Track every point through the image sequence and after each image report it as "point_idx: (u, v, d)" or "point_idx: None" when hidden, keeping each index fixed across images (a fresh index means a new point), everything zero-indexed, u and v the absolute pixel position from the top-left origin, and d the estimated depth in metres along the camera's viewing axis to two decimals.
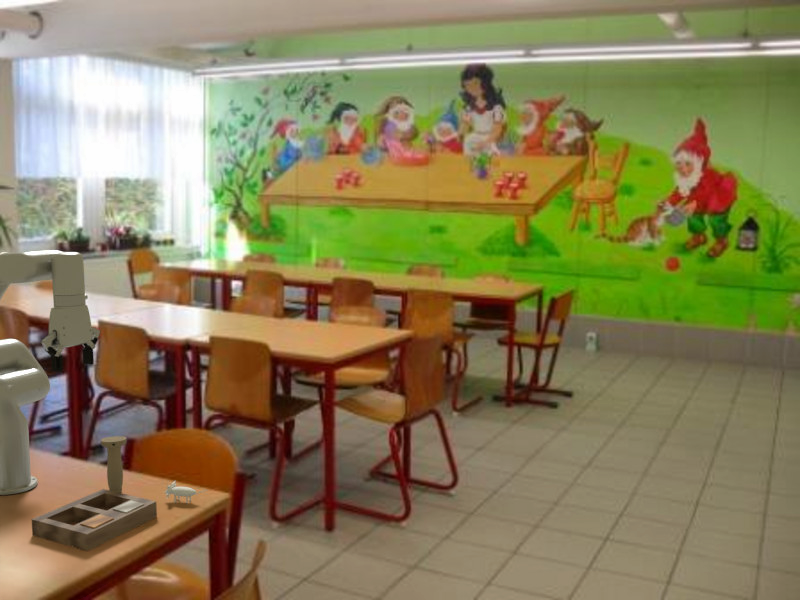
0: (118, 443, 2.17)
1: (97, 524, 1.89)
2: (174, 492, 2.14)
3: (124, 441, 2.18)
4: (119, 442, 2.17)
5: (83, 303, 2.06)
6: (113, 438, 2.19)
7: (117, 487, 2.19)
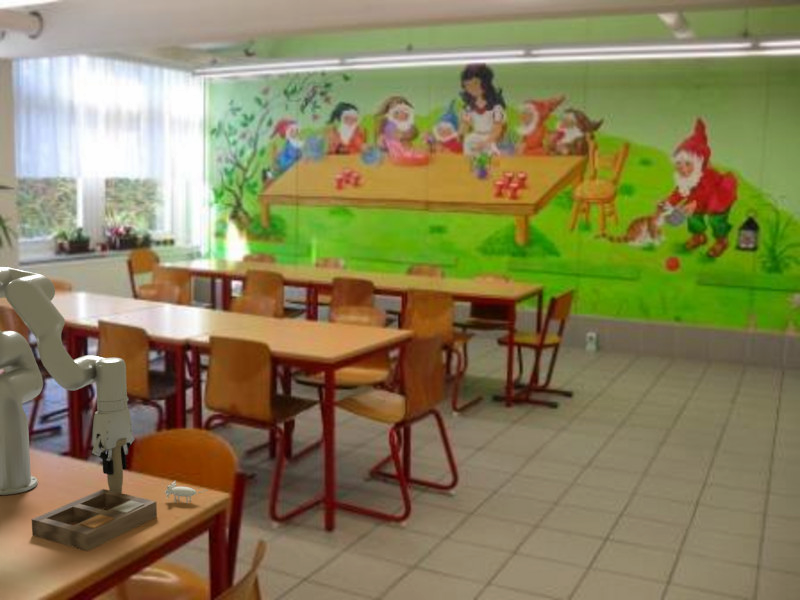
0: (118, 443, 2.17)
1: (97, 524, 1.89)
2: (174, 492, 2.14)
3: (124, 441, 2.18)
4: (119, 442, 2.17)
5: (125, 407, 2.17)
6: None
7: (117, 487, 2.19)
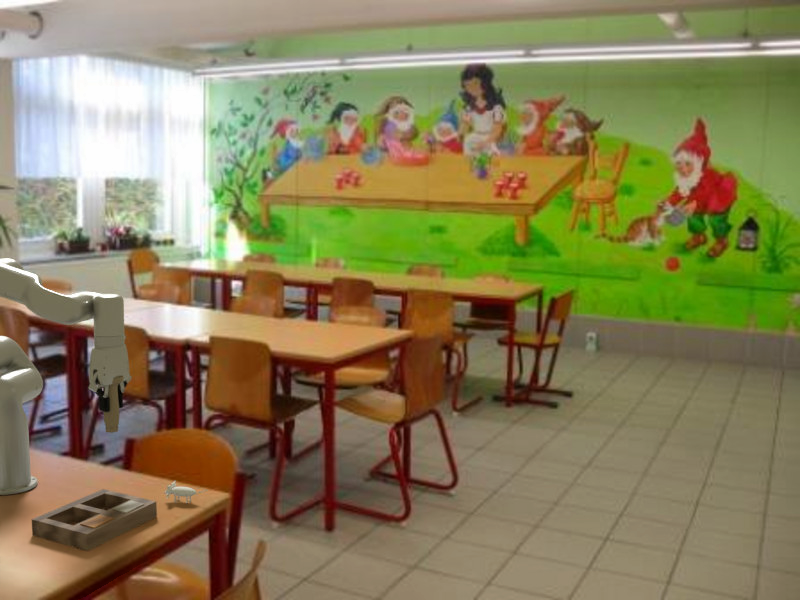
0: (115, 380, 2.14)
1: (97, 524, 1.89)
2: (174, 492, 2.14)
3: (121, 378, 2.15)
4: (116, 379, 2.14)
5: (123, 343, 2.14)
6: None
7: (113, 425, 2.16)
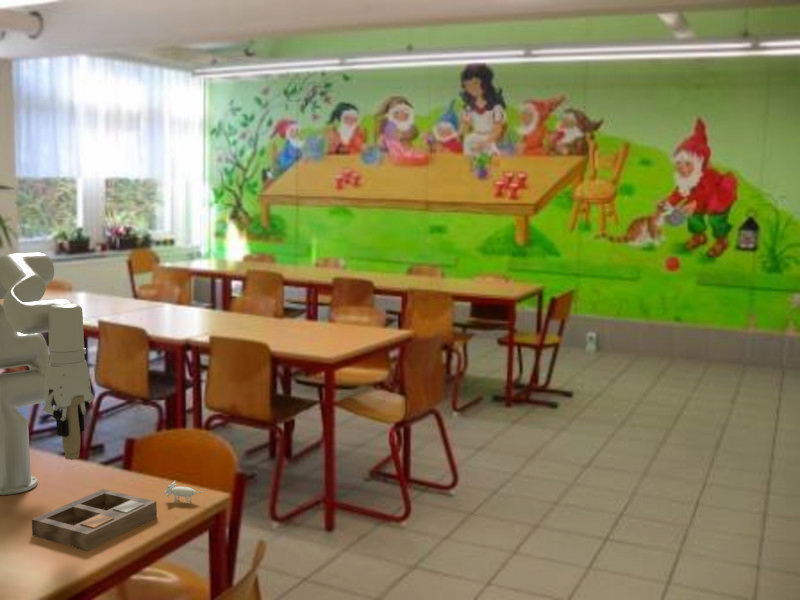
0: (74, 400, 1.90)
1: (97, 524, 1.89)
2: (174, 492, 2.14)
3: (81, 398, 1.91)
4: (75, 399, 1.90)
5: (82, 359, 1.90)
6: None
7: (74, 451, 1.92)
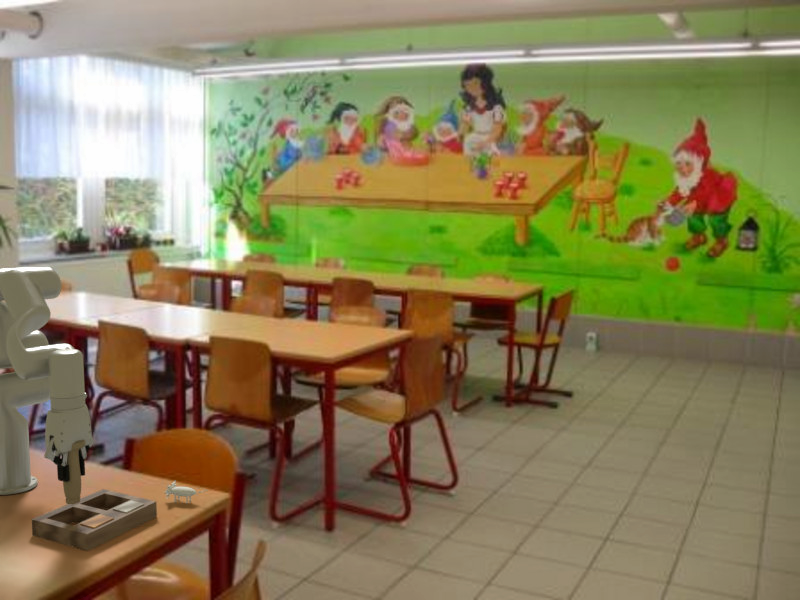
0: (75, 446, 1.91)
1: (97, 524, 1.89)
2: (174, 492, 2.14)
3: (82, 443, 1.92)
4: (76, 445, 1.91)
5: (83, 405, 1.91)
6: None
7: (74, 496, 1.93)
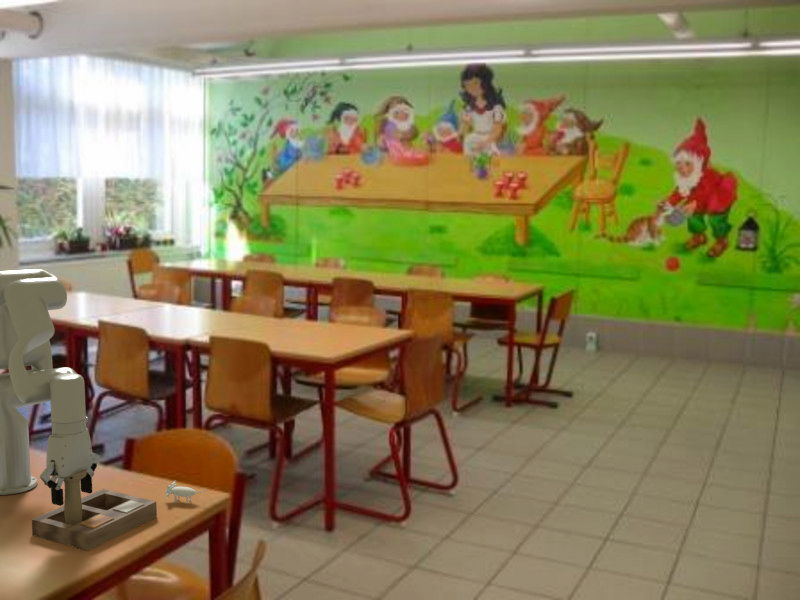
0: (76, 476, 1.92)
1: (97, 524, 1.89)
2: (174, 492, 2.14)
3: (83, 474, 1.93)
4: (77, 475, 1.92)
5: (84, 429, 1.92)
6: None
7: None
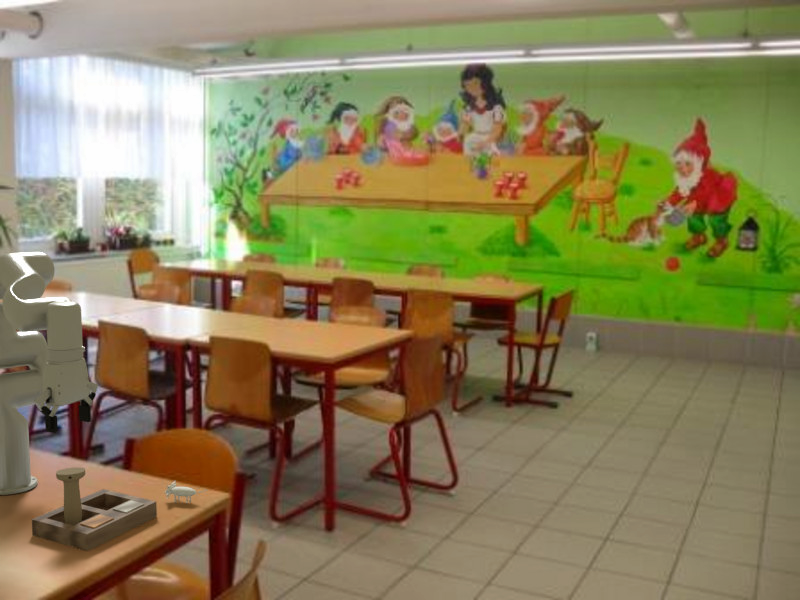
0: (75, 476, 1.92)
1: (97, 524, 1.89)
2: (174, 492, 2.14)
3: (82, 473, 1.93)
4: (76, 475, 1.92)
5: (80, 357, 1.89)
6: (70, 470, 1.94)
7: None
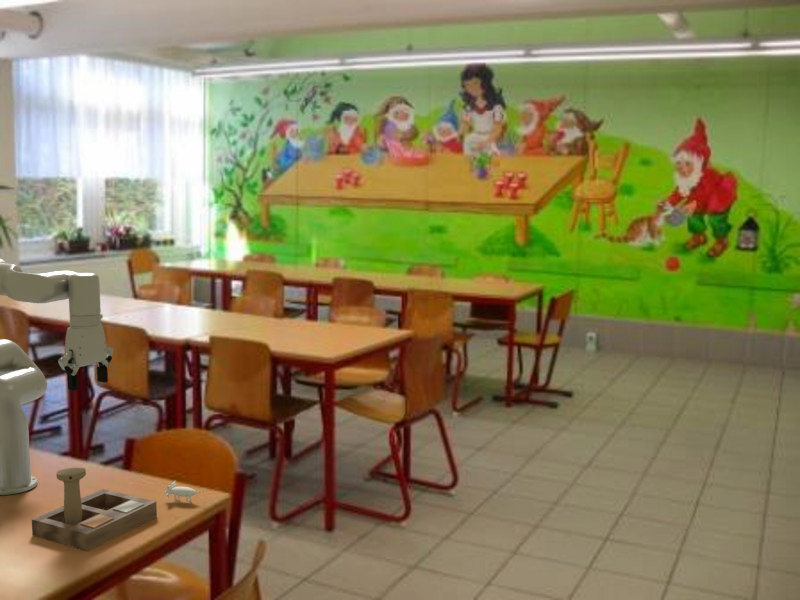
0: (76, 476, 1.92)
1: (97, 524, 1.89)
2: (174, 492, 2.14)
3: (83, 474, 1.93)
4: (77, 475, 1.92)
5: (99, 323, 2.10)
6: (71, 470, 1.94)
7: None
